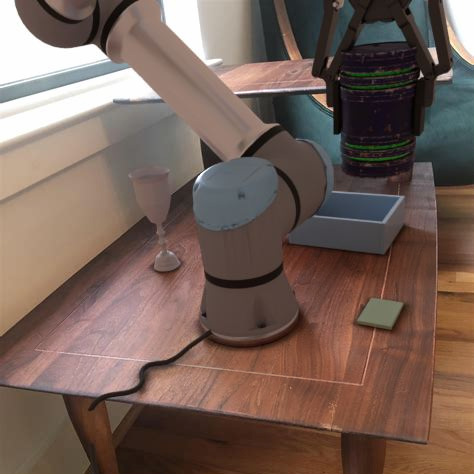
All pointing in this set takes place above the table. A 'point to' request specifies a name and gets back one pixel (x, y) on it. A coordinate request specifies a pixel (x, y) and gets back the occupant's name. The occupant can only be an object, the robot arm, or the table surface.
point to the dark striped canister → (378, 109)
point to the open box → (353, 223)
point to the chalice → (155, 207)
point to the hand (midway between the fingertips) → (377, 132)
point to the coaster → (380, 313)
